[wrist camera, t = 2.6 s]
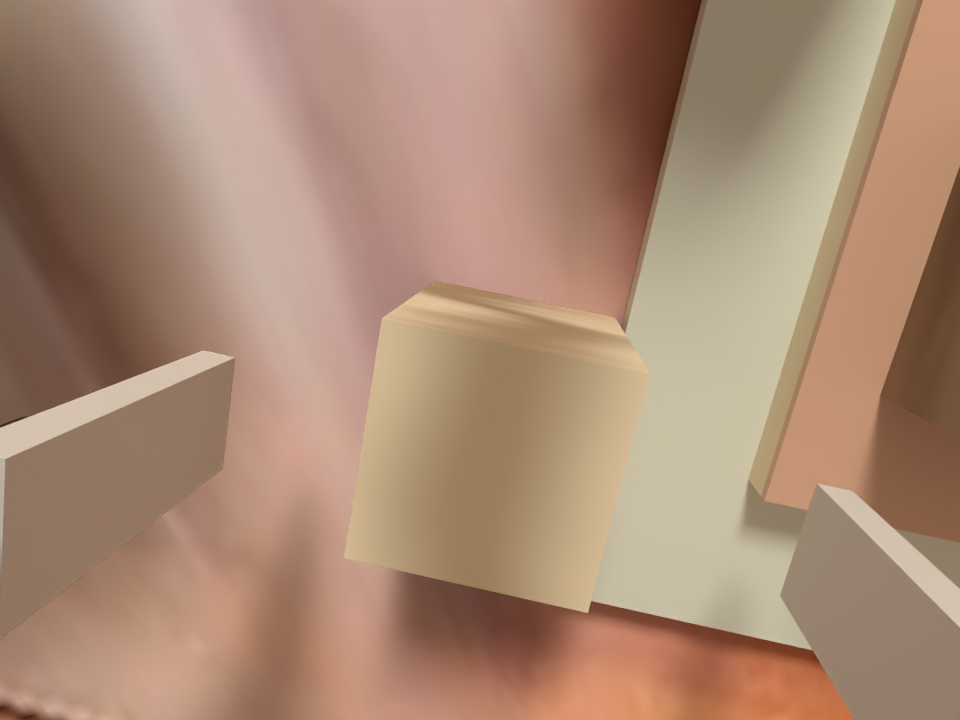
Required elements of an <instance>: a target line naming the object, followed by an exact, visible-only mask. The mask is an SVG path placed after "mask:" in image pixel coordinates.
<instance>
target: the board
mask: <svg viewBox="0 0 960 720" xmlns="http://www.w3.org/2000/svg"><path fill="white" fill-rule="evenodd" d="M959 167H960V0H702V1H701V5H700V9H699V13H698V17H697V21H696V25H695V29H694V33H693V37H692V41H691V46H690V50H689V54H688V58H687V62H686V66H685V70H684V74H683V78H682V82H681V86H680V90H679V94H678V99H677V103H676V107H675V111H674V115H673V119H672V123H671V127H670V131H669V135H668V139H667V143H666V147H665V152H664V156H663V160H662V164H661V168H660V172H659V176H658V180H657V184H656V188H655V192H654V196H653V200H652V205H651V209H650V213H649V217H648V221H647V225H646V229H645V233H644V237H643V241H642V245H641V249H640V253H639V258H638V262H637V266H636V270H635V274H634V278H633V282H632V286H631V290H630V294H629V298H628V302H627V306H626V310H625V315H624V319H623V323H622V327H621V328H622V330H623V331H624V333H625V334H626V336H627V338H628V339H629V341H630V342H631V344H632V346H633V347H634V349H635V350H636V352H637V353H638V355H639V357H640V358H641V360H642V361H643V363H644V365H645V366H646V368H647V369H648V371H649V373H650V377H649V381H648V385H647V389H646V392H645V396H644V400H643V404H642V408H641V412H640V415H639V419H638V423H637V427H636V431H635V435H634V439H633V442H632V446H631V450H630V454H629V458H628V462H627V465H626V469H625V473H624V477H623V481H622V485H621V488H620V492H619V496H618V500H617V504H616V508H615V511H614V515H613V519H612V523H611V527H610V531H609V535H608V538H607V542H606V546H605V550H604V554H603V558H602V561H601V565H600V569H599V573H598V577H597V581H596V584H595V588H594V592H593V596H592V600H591V601H594V602H598V603H603V604H607V605H612V606H616V607H620V608H625V609H629V610H634V611H638V612H643V613H647V614H652V615H656V616H661V617H665V618H670V619H674V620H679V621H683V622H688V623H692V624H697V625H701V626H706V627H710V628H715V629H719V630H724V631H728V632H733V633H737V634H742V635H746V636H751V637H755V638H760V639H764V640H769V641H773V642H778V643H782V644H787V645H791V646H796V647H800V648H805V649H809V650H812V648H811V647H810V645H809V643H808V642H807V640H806V638H805V637H804V635H803V633H802V632H801V630H800V628H799V627H798V625H797V623H796V622H795V620H794V618H793V617H792V615H791V613H790V612H789V610H788V608H787V607H786V605H785V603H784V602H783V600H782V598H781V597H780V594H781V591H782V588H783V585H784V582H785V579H786V576H787V573H788V570H789V566H790V563H791V560H792V557H793V554H794V551H795V548H796V545H797V542H798V539H799V536H800V533H801V530H802V527H803V524H804V521H805V518H806V514H807V511H808V508H809V505H810V502H811V499H812V496H813V493H814V490H815V487H816V484H817V483H818V484H822V485H827V486H831V487H836V488H841V489H845V490H850V491H853V492H854V493H855V494H856V495H857V496H859V497H860V498H861V499H862V500H863V501H864V502H865V503H866V504H867V505H868V506H869V507H871V508H872V509H873V510H874V511H875V512H876V513H877V514H878V515H879V516H880V517H882V518H883V519H884V520H885V521H886V522H887V523H888V524H889V525H890V526H891V527H892V528H894V529H895V530H896V531H897V532H898V533H899V534H900V535H901V536H902V537H903V538H905V539H906V540H907V541H908V542H909V543H910V544H911V545H912V546H913V547H914V548H915V549H917V550H918V551H919V552H920V553H921V554H922V555H923V556H924V557H925V558H926V559H928V560H929V561H930V562H931V563H932V564H933V565H934V566H935V567H936V568H937V569H938V570H940V571H941V572H942V573H943V574H944V575H945V576H946V577H947V578H948V579H949V580H951V581H952V582H953V583H954V584H955V585H956V586H957V587H958V588H959V589H960V440H959V439H958V438H956V437H954V436H952V435H950V434H949V433H947V432H945V431H943V430H942V429H940V428H938V427H936V426H934V425H933V424H931V423H929V422H927V421H926V420H924V419H922V418H920V417H918V416H917V415H915V414H913V413H911V412H910V411H908V410H906V409H904V408H902V407H901V406H899V405H897V404H895V403H894V402H892V401H890V400H888V399H886V398H885V397H883V396H881V395H880V394H881V391H882V388H883V386H884V383H885V380H886V377H887V374H888V371H889V368H890V365H891V363H892V360H893V357H894V354H895V351H896V348H897V345H898V342H899V340H900V337H901V334H902V331H903V328H904V325H905V322H906V319H907V316H908V314H909V311H910V308H911V305H912V302H913V299H914V296H915V293H916V291H917V288H918V285H919V282H920V279H921V276H922V273H923V270H924V267H925V265H926V262H927V259H928V256H929V253H930V250H931V247H932V244H933V242H934V239H935V236H936V233H937V230H938V227H939V224H940V221H941V219H942V216H943V213H944V210H945V207H946V204H947V201H948V198H949V195H950V193H951V190H952V187H953V184H954V181H955V178H956V175H957V172H958V170H959Z"/></svg>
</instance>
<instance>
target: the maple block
mask: <svg viewBox="0 0 960 720" xmlns="http://www.w3.org/2000/svg"><path fill="white" fill-rule="evenodd" d="M649 377H650V373H649V371H648V369H647V368H646V366H645V365H644V363H643V361H642V360H641V358H640V357H639V355H638V353H637V352H636V350H635V349H634V347H633V346H632V344H631V342H630V341H629V339H628V338H627V336H626V334H625V333H624V331H623V330H622V328H621V326H620V325H619V323H618V322H617V320H616V318H615V317H610V316H605V315H600V314H595V313H590V312H585V311H581V310H576V309H571V308H566V307H561V306H556V305H551V304H546V303H541V302H536V301H531V300H526V299H522V298H517V297H512V296H507V295H502V294H497V293H492V292H487V291H482V290H477V289H472V288H468V287H463V286H458V285H453V284H448V283H443V282H438V281H435V282H433V283H432V284H430V285H429V286H428V287H426V288H425V289H423V290H422V291H420V292H419V293H417V294H416V295H415V296H413V297H412V298H410V299H409V300H407V301H406V302H405V303H403V304H402V305H400V306H399V307H397V308H396V309H395V310H393V311H392V312H390V313H389V314H387V315H386V316H384V317H383V318H382V321H381V327H380V333H379V340H378V346H377V352H376V358H375V365H374V371H373V377H372V384H371V390H370V396H369V403H368V409H367V415H366V422H365V428H364V434H363V440H362V447H361V453H360V459H359V466H358V472H357V478H356V485H355V491H354V497H353V504H352V510H351V516H350V522H349V529H348V535H347V541H346V548H345V554H344V558H345V559H349V560H354V561H358V562H363V563H367V564H372V565H376V566H381V567H385V568H390V569H394V570H398V571H403V572H407V573H412V574H416V575H421V576H425V577H430V578H434V579H439V580H443V581H447V582H452V583H456V584H461V585H465V586H470V587H474V588H479V589H483V590H488V591H492V592H496V593H501V594H505V595H510V596H514V597H519V598H523V599H528V600H532V601H537V602H541V603H545V604H550V605H554V606H559V607H563V608H568V609H572V610H577V611H581V612H586V613H588V611H589V607H590V604H591V600H592V596H593V592H594V588H595V584H596V581H597V577H598V573H599V569H600V565H601V561H602V558H603V554H604V550H605V546H606V542H607V538H608V535H609V531H610V527H611V523H612V519H613V515H614V511H615V508H616V504H617V500H618V496H619V492H620V488H621V485H622V481H623V477H624V473H625V469H626V465H627V462H628V458H629V454H630V450H631V446H632V442H633V439H634V435H635V431H636V427H637V423H638V419H639V415H640V412H641V408H642V404H643V400H644V396H645V392H646V389H647V385H648V381H649Z"/></svg>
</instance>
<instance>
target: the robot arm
mask: <svg viewBox="0 0 960 720" xmlns="http://www.w3.org/2000/svg"><path fill="white" fill-rule="evenodd" d="M234 363H235V357H231V356H227V355H222V354H217V353H213V352H208V351H200V352H198V353H195V354H192V355H190V356H187V357H185V358H182V359H179V360H177V361H174V362H171V363H169V364H166V365H164V366H161V367H158V368H156V369H153V370H151V371H148V372H145V373H143V374H140V375H137V376H135V377H132V378H130V379H127V380H124V381H122V382H119V383H116V384H114V385H111V386H109V387H106V388H103V389H101V390H98V391H96V392H93V393H90V394H88V395H85V396H82V397H80V398H77V399H75V400H72V401H69V402H67V403H64V404H61V405H59V406H56V407H54V408H51V409H48V410H46V411H43V412H41V413H38V414H35V415H33V416H27V417H22V418H19V419H16V420H13V421H11V422H8V423H5V424H3V425H0V639H1V638H2V637H3V636H5V635H6V634H7V633H9V632H10V631H11V630H13V629H14V628H15V627H16V626H18V625H19V624H20V623H22V622H23V621H24V620H26V619H27V618H28V617H30V616H31V615H32V614H33V613H35V612H36V611H37V610H39V609H40V608H41V607H43V606H44V605H45V604H47V603H48V602H49V601H51V600H52V599H53V598H54V597H56V596H57V595H58V594H60V593H61V592H62V591H64V590H65V589H66V588H68V587H69V586H70V585H71V584H73V583H74V582H75V581H77V580H78V579H79V578H81V577H82V576H83V575H85V574H86V573H87V572H88V571H90V570H91V569H92V568H94V567H95V566H96V565H98V564H99V563H100V562H102V561H103V560H104V559H105V558H107V557H108V556H109V555H111V554H112V553H113V552H115V551H116V550H117V549H119V548H120V547H121V546H123V545H124V544H125V543H126V542H128V541H129V540H130V539H132V538H133V537H134V536H136V535H137V534H138V533H140V532H141V531H142V530H143V529H145V528H146V527H147V526H149V525H150V524H151V523H153V522H154V521H155V520H157V519H158V518H159V517H160V516H162V515H163V514H164V513H166V512H167V511H168V510H170V509H171V508H172V507H174V506H175V505H176V504H177V503H179V502H180V501H181V500H183V499H184V498H185V497H187V496H188V495H189V494H191V493H192V492H193V491H194V490H196V489H197V488H198V487H200V486H201V485H202V484H204V483H205V482H206V481H208V480H209V479H210V478H212V477H213V476H214V475H215V474H217V473H218V472H219V471H221V470H222V469H223V460H224V452H225V443H226V434H227V425H228V416H229V407H230V399H231V390H232V381H233V372H234ZM780 597H781V598H782V600H783V602H784V603H785V605H786V607H787V608H788V610H789V612H790V613H791V615H792V617H793V618H794V620H795V622H796V623H797V625H798V627H799V628H800V630H801V632H802V633H803V635H804V637H805V638H806V640H807V642H808V643H809V645H810V647H811V648H812V650H813V652H814V653H815V655H816V657H817V658H818V660H819V662H820V663H821V665H822V667H823V668H824V670H825V672H826V673H827V675H828V677H829V678H830V680H831V682H832V683H833V685H834V687H835V688H836V690H837V692H838V693H839V695H840V697H841V698H842V700H843V702H844V703H845V705H846V707H847V708H848V710H849V712H850V713H851V715H852V717H853V718H854V720H960V589H959V588H958V587H957V586H956V585H955V584H954V583H953V582H952V581H951V580H949V579H948V578H947V577H946V576H945V575H944V574H943V573H942V572H941V571H940V570H938V569H937V568H936V567H935V566H934V565H933V564H932V563H931V562H930V561H929V560H928V559H926V558H925V557H924V556H923V555H922V554H921V553H920V552H919V551H918V550H917V549H915V548H914V547H913V546H912V545H911V544H910V543H909V542H908V541H907V540H906V539H905V538H903V537H902V536H901V535H900V534H899V533H898V532H897V531H896V530H895V529H894V528H892V527H891V526H890V525H889V524H888V523H887V522H886V521H885V520H884V519H883V518H882V517H880V516H879V515H878V514H877V513H876V512H875V511H874V510H873V509H872V508H871V507H869V506H868V505H867V504H866V503H865V502H864V501H863V500H862V499H861V498H860V497H859V496H857V495H856V494H855V493H854V492H853V491H850V490H845V489H841V488H836V487H831V486H827V485H822V484H818V483H817V484H816V487H815V490H814V493H813V496H812V499H811V502H810V505H809V508H808V511H807V514H806V518H805V521H804V524H803V527H802V530H801V533H800V536H799V539H798V542H797V545H796V548H795V551H794V554H793V557H792V560H791V563H790V566H789V570H788V573H787V576H786V579H785V582H784V585H783V588H782V591H781V594H780Z"/></svg>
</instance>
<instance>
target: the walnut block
mask: <svg viewBox="0 0 960 720" xmlns="http://www.w3.org/2000/svg"><path fill="white" fill-rule="evenodd" d="M880 395H881V396H883V397H885V398H886V399H888V400H890V401H892V402H894V403H895V404H897V405H899V406H901V407H902V408H904V409H906V410H908V411H910V412H911V413H913V414H915V415H917V416H918V417H920V418H922V419H924V420H926V421H927V422H929V423H931V424H933V425H934V426H936V427H938V428H940V429H942V430H943V431H945V432H947V433H949V434H950V435H952V436H954V437H956V438H958V439H959V440H960V167H959V170H958V172H957V175H956V178H955V181H954V184H953V187H952V190H951V193H950V195H949V198H948V201H947V204H946V207H945V210H944V213H943V216H942V219H941V221H940V224H939V227H938V230H937V233H936V236H935V239H934V242H933V244H932V247H931V250H930V253H929V256H928V259H927V262H926V265H925V267H924V270H923V273H922V276H921V279H920V282H919V285H918V288H917V291H916V293H915V296H914V299H913V302H912V305H911V308H910V311H909V314H908V316H907V319H906V322H905V325H904V328H903V331H902V334H901V337H900V340H899V342H898V345H897V348H896V351H895V354H894V357H893V360H892V363H891V365H890V368H889V371H888V374H887V377H886V380H885V383H884V386H883V388H882V391H881V394H880Z"/></svg>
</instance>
